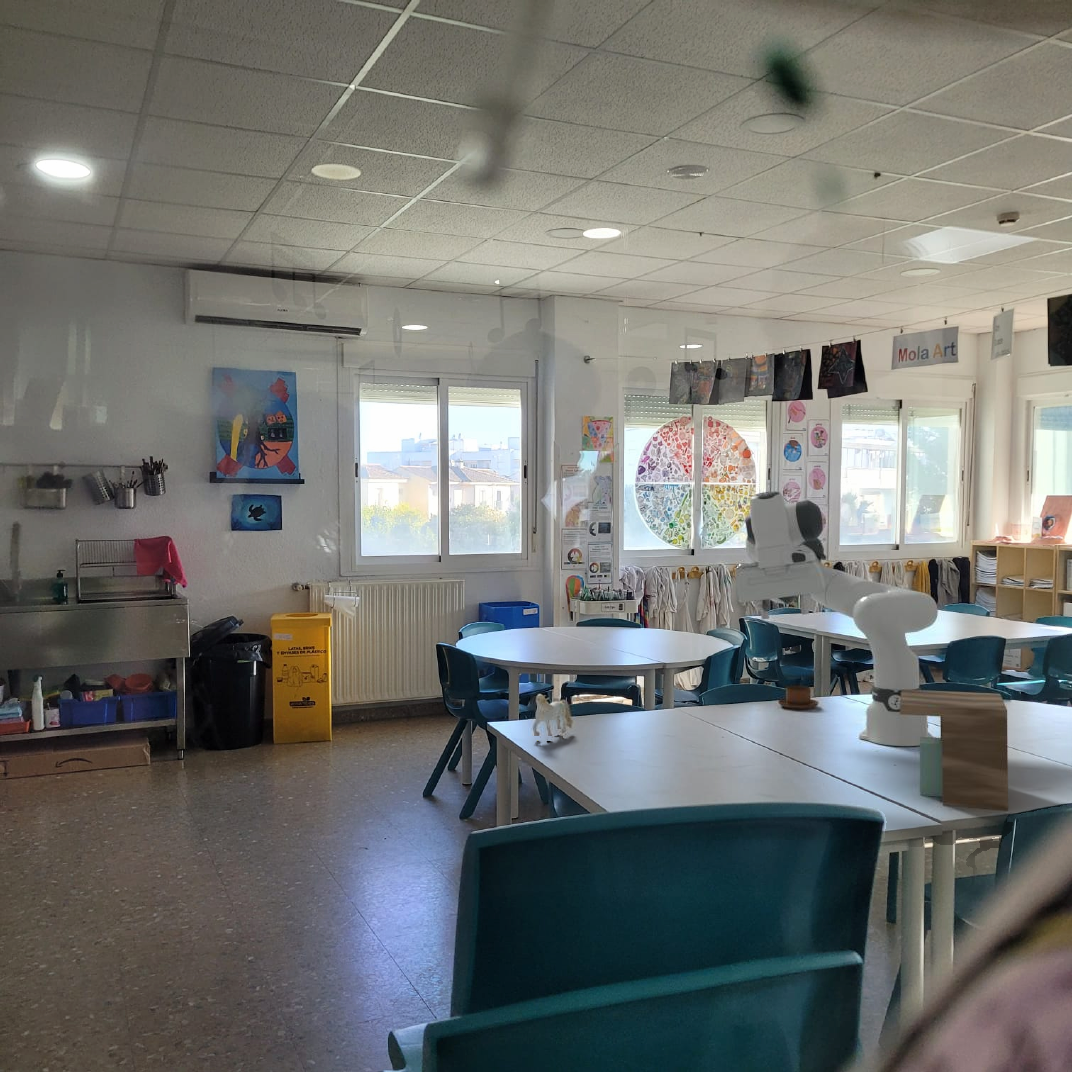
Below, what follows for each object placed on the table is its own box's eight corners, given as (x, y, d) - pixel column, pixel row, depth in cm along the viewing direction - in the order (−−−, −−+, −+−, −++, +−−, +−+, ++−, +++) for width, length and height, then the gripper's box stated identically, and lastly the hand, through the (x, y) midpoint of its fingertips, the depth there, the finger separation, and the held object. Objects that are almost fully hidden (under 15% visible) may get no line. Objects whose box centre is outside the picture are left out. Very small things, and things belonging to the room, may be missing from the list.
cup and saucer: (781, 703, 313) (781, 683, 313) (820, 705, 309) (820, 685, 309) (775, 710, 302) (775, 690, 302) (816, 712, 298) (815, 692, 298)
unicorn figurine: (524, 747, 257) (523, 696, 257) (549, 732, 275) (549, 684, 275) (550, 749, 255) (549, 697, 254) (574, 733, 273) (573, 685, 273)
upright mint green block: (920, 787, 214) (919, 736, 214) (952, 789, 212) (951, 738, 212) (920, 794, 208) (919, 742, 208) (953, 797, 206) (952, 745, 206)
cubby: (902, 778, 221) (901, 689, 221) (1000, 785, 214) (1000, 693, 214) (900, 801, 204) (899, 704, 203) (1007, 810, 196) (1007, 710, 196)
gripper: (730, 565, 237) (739, 623, 236) (816, 553, 228) (826, 612, 228) (736, 564, 243) (745, 620, 242) (820, 552, 234) (830, 610, 233)
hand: (785, 616), depth 235 cm, fingers open, 8 cm apart
